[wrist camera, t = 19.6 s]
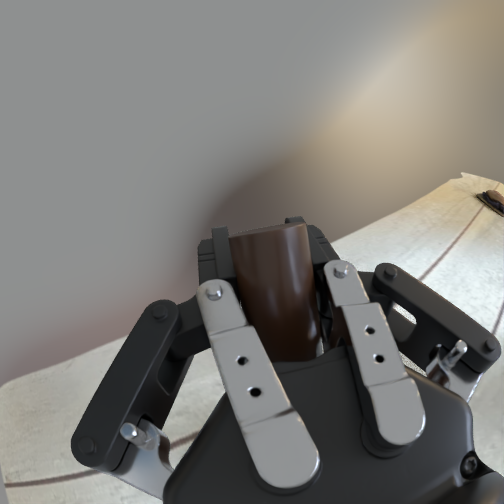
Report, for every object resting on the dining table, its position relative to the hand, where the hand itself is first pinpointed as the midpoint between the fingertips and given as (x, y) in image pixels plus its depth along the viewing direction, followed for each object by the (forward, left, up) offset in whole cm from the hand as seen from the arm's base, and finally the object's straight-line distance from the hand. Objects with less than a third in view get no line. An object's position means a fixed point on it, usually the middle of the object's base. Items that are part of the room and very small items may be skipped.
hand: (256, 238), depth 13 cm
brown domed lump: (-71, +2, -15) cm, 73 cm away
